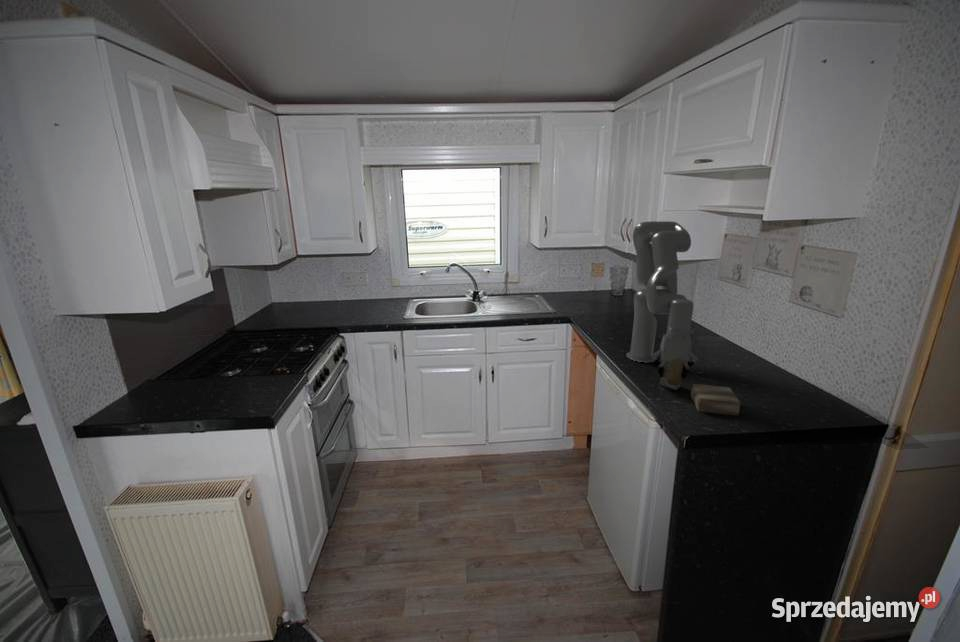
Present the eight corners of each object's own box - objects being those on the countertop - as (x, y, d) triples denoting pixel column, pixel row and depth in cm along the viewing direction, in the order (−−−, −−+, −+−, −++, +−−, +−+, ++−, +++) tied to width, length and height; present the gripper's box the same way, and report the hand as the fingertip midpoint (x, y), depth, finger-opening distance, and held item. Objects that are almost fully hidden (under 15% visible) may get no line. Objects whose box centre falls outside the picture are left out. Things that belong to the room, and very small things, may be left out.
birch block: (690, 395, 147) (692, 383, 146) (727, 399, 144) (729, 387, 143) (698, 411, 136) (700, 398, 135) (738, 416, 133) (740, 403, 132)
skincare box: (659, 385, 155) (663, 355, 152) (664, 381, 158) (667, 352, 154) (676, 390, 151) (681, 360, 147) (681, 386, 154) (685, 357, 150)
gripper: (700, 330, 150) (693, 374, 155) (650, 328, 153) (645, 370, 158) (706, 337, 143) (699, 382, 148) (654, 334, 146) (649, 378, 151)
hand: (671, 376), depth 153 cm, fingers closed on skincare box, 7 cm apart
